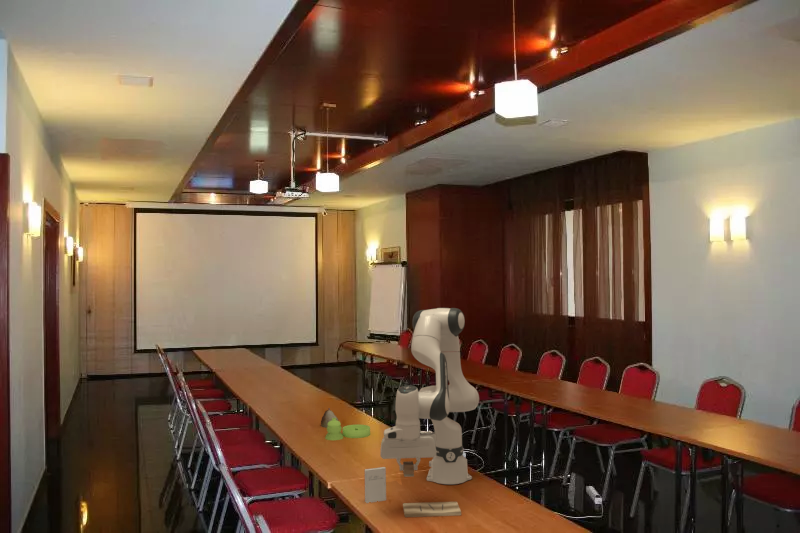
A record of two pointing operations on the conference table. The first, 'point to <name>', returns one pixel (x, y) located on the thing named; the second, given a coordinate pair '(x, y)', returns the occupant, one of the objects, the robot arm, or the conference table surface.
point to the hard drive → (375, 484)
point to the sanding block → (408, 469)
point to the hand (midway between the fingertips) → (408, 470)
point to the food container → (346, 430)
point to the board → (431, 509)
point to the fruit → (327, 418)
